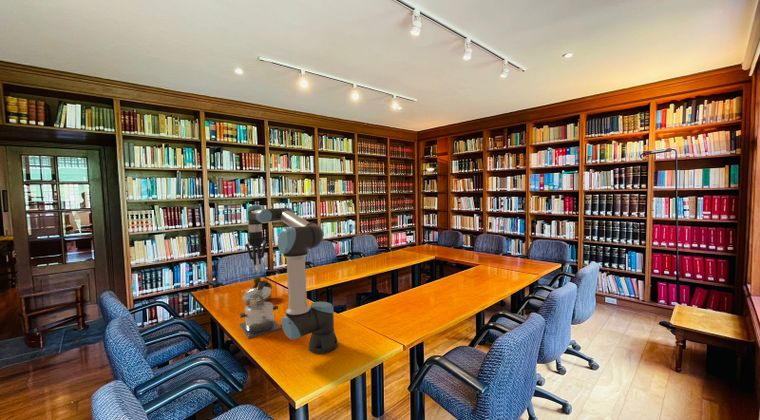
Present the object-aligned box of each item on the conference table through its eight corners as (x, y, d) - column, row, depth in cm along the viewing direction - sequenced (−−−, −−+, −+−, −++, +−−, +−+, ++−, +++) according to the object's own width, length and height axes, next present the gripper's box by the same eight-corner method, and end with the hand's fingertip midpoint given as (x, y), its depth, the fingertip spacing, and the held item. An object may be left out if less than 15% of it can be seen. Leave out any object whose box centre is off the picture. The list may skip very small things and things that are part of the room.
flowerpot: (276, 296, 243) (274, 271, 242) (267, 303, 228) (265, 277, 227) (258, 296, 245) (257, 271, 244) (248, 303, 230) (247, 277, 228)
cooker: (284, 328, 186) (283, 305, 185) (245, 339, 173) (244, 315, 172) (272, 316, 204) (271, 296, 203) (236, 326, 191) (235, 304, 190)
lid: (276, 280, 183) (275, 275, 185) (247, 286, 174) (245, 280, 175) (268, 299, 199) (267, 294, 201) (241, 305, 189) (240, 299, 191)
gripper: (264, 229, 191) (266, 267, 193) (242, 231, 184) (244, 270, 185) (268, 230, 185) (270, 269, 187) (245, 232, 178) (247, 273, 179)
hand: (257, 270), depth 186 cm, fingers closed
